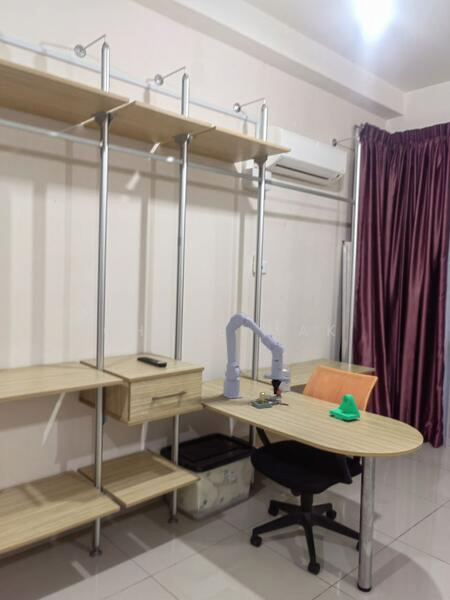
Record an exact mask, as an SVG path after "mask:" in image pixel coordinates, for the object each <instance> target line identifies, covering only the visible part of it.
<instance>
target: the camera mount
mask: <svg viewBox="0 0 450 600" xmlns="http://www.w3.org/2000/svg"><path fill="white" fill-rule="evenodd" d="M329 415H332V416H333V418H335V419H337V420H341V421H343V420H344V421H345V420H347V421H351V420H356V419H360V418H361V414H360V410H359V408H358V405H357V403H356V400H355V398H354V396H353V395H352V394H346V395H342V397H341V402H340V404H339V406H338V408H332V409H329Z"/></svg>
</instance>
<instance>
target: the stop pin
mask: <svg viewBox="0 0 450 600" xmlns="http://www.w3.org/2000/svg"><path fill="white" fill-rule="evenodd" d="M265 395H266V392H259V398H260V400H259V404H265Z"/></svg>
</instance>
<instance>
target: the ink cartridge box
mask: <svg viewBox="0 0 450 600" xmlns="http://www.w3.org/2000/svg"><path fill="white" fill-rule="evenodd" d="M291 373H292V371H291V365H290V364H288V363H286V362H283V374H282V376H283V377H287V378H290V382H289V383H287V382H283V381H282V382H281V384H280V386H279V388H278V390H281V393H285V392H291V379H292V377H291V376H292V374H291Z"/></svg>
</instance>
